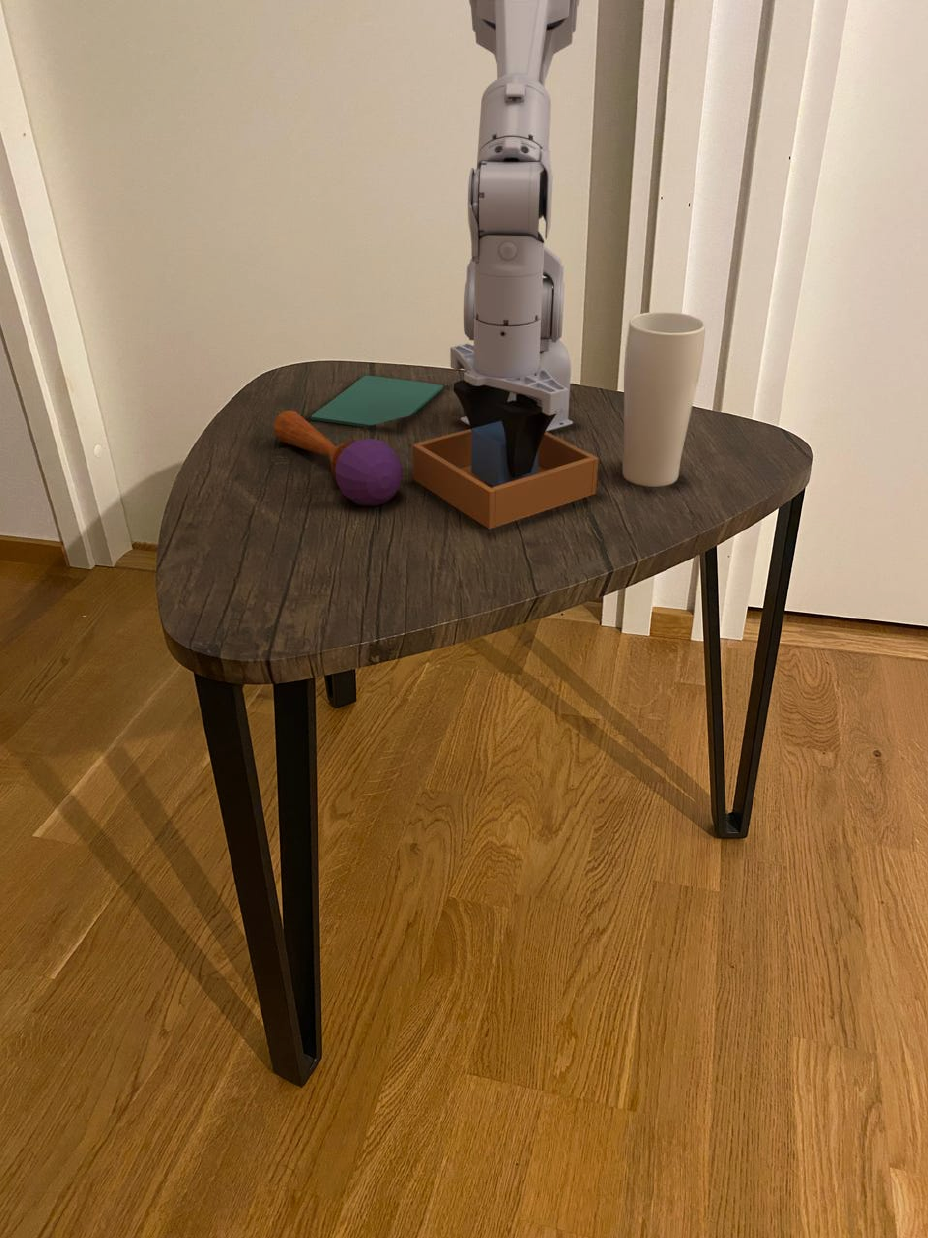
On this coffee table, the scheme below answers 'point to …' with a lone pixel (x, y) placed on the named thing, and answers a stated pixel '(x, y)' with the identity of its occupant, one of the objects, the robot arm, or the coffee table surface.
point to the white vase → (659, 393)
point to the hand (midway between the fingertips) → (503, 464)
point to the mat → (377, 401)
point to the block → (492, 455)
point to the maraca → (348, 460)
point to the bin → (556, 483)
